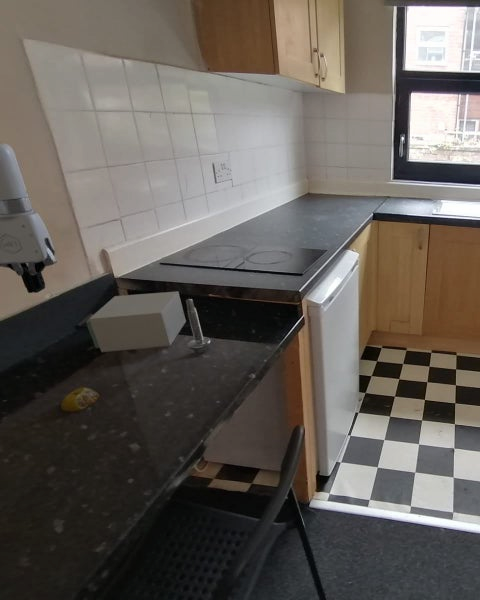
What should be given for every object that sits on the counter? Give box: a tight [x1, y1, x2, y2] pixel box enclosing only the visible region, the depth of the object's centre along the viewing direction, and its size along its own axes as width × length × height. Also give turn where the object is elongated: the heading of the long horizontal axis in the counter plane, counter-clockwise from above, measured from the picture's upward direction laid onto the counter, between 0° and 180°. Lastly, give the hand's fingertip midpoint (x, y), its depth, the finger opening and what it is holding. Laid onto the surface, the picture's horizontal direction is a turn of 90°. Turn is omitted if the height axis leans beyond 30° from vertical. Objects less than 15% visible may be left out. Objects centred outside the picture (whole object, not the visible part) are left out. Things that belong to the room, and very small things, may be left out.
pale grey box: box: [89, 290, 187, 353], centre depth 96 cm, size 15×13×9 cm
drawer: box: [74, 313, 100, 349], centre depth 96 cm, size 18×11×7 cm, turn 101°
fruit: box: [60, 386, 100, 412], centre depth 73 cm, size 8×8×4 cm
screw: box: [185, 298, 212, 354], centre depth 89 cm, size 13×5×5 cm
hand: (37, 290), depth 89 cm, fingers closed
